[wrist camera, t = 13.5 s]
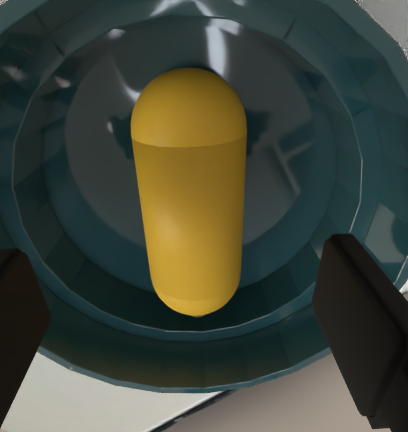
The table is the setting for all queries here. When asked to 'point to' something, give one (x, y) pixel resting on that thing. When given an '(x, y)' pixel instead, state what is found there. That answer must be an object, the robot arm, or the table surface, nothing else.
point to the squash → (191, 186)
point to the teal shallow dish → (254, 175)
